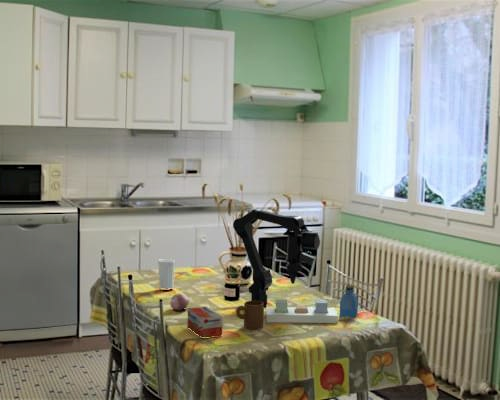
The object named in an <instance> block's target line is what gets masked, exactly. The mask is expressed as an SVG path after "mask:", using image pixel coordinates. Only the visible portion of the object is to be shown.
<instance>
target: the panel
mask: <svg viewBox="0 0 500 400" xmlns="http://www.w3.org/2000/svg"><path fill="white" fill-rule="evenodd" d="M295 311H296V306H287V312H276V306H266V307H265V312H266V313H265V314H266V323H299V324H300V323H303V324H304V323H306V324H307V323H309V324H338V323H339V315H338V312H337V310H336V308H335V307H327V313H316V311H315V306H314V307H311V306H310V307H308V306H307V313H295Z"/></svg>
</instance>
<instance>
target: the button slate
mask: <svg viewBox="0 0 500 400" xmlns="http://www.w3.org/2000/svg"><path fill="white" fill-rule="evenodd" d="M314 301H315V304H314V305H315V306H314V307H315V311H316V313H327V308H328V306H329V305H328V301H327V299H326V300H325V299H324V300H323V299H321V300H320V299H319V300H318V299H317V300H314Z"/></svg>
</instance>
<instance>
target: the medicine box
mask: <svg viewBox="0 0 500 400" xmlns="http://www.w3.org/2000/svg"><path fill="white" fill-rule="evenodd" d="M188 328H190V329H191V330H192V331H194V332H195V333H196V334H198V335H199V336H201V337H210V338H213V337H212V336H221V335H222V336H223V315H221V314H219V313H218V312H216V311H215V310H213V309H212V308H209V307H207V306H198V307H189V308H187V329H188ZM192 331H191V332H192ZM196 334H195V335H196ZM222 336H221V337H222Z"/></svg>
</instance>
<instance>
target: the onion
mask: <svg viewBox="0 0 500 400" xmlns="http://www.w3.org/2000/svg"><path fill="white" fill-rule="evenodd" d="M169 304H170V307H171V309H172V308H173V309H175V310H180V311H184V310H183V309H184V308H187V307H188V305H189V304H190V301H189V298H188V297H187V296H186V295H185V294H182V293H176V294H174V295H173V296H172V297H171V298H170V303H169ZM173 309H172V310H173ZM175 310H174V311H175Z"/></svg>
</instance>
